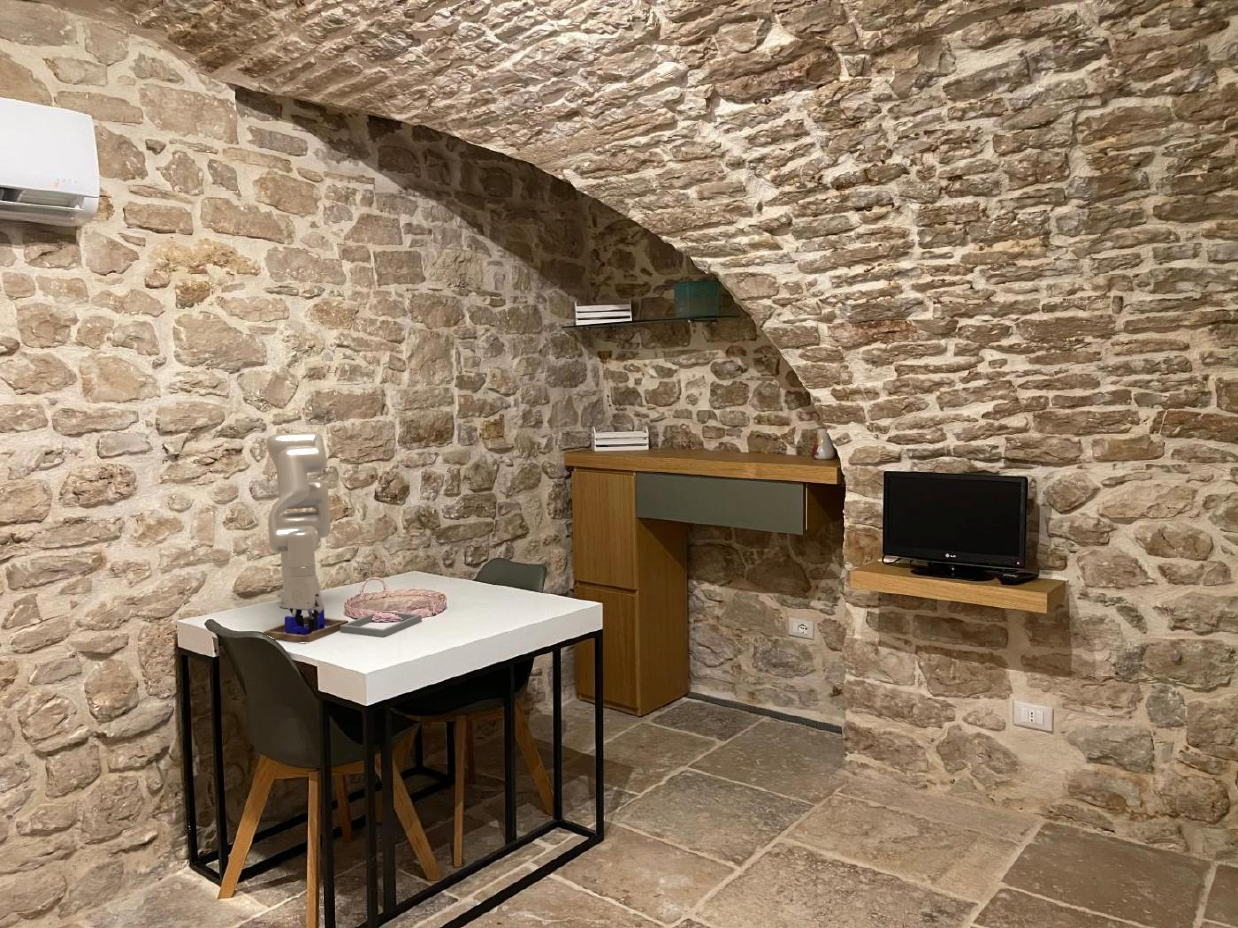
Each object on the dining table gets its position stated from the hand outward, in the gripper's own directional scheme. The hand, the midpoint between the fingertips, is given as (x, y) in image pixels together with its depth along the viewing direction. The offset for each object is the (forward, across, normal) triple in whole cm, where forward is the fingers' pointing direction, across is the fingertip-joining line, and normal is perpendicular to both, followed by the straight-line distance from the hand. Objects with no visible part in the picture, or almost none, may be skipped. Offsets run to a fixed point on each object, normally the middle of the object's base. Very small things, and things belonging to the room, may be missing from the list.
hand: (306, 629), depth 289 cm
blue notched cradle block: (+1, 0, 0) cm, 1 cm away
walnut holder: (+1, 0, 0) cm, 1 cm away
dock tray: (+1, +18, +13) cm, 22 cm away
